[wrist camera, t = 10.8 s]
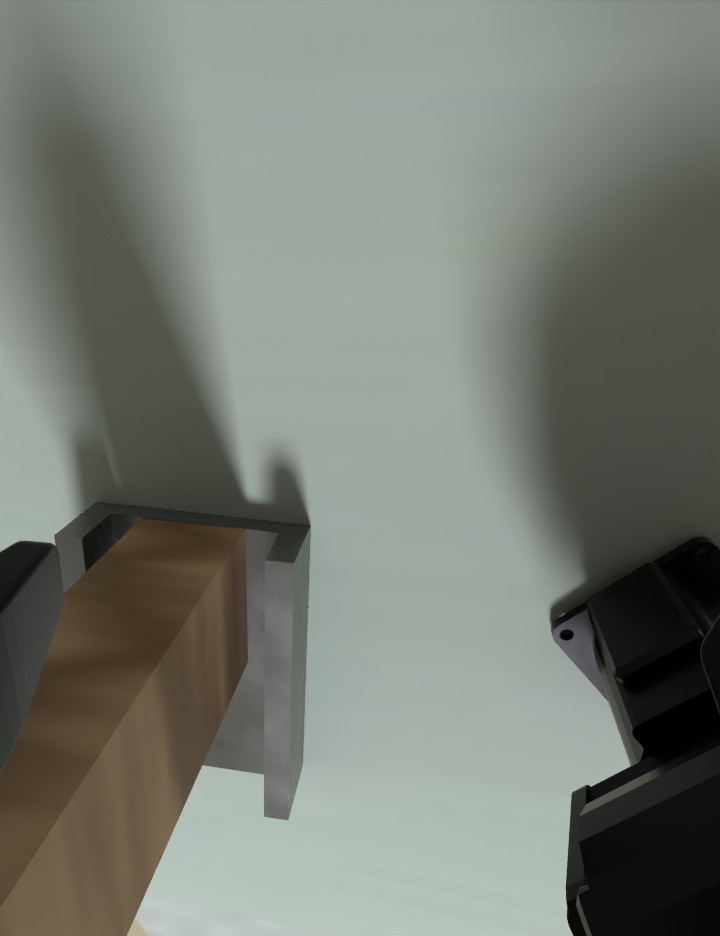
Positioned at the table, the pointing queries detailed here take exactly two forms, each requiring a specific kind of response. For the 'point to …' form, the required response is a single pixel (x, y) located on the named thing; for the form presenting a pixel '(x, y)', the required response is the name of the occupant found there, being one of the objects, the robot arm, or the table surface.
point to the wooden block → (120, 727)
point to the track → (269, 638)
